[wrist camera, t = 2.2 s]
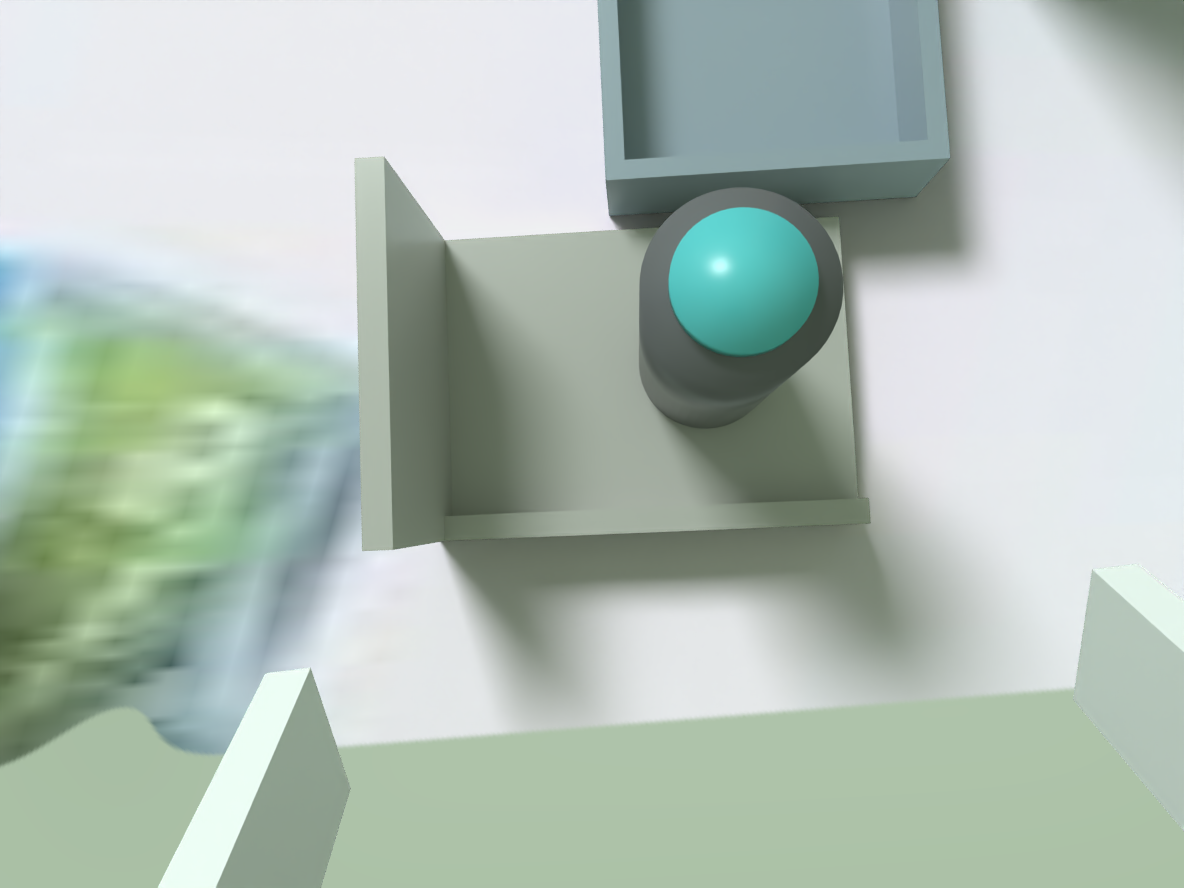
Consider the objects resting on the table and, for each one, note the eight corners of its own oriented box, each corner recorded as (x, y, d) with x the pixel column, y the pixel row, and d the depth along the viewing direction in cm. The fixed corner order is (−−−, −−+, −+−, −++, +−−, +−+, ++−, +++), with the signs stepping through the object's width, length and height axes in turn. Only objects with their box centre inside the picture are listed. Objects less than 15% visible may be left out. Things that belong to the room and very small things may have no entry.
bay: (438, 538, 36) (362, 551, 26) (431, 252, 37) (354, 158, 27) (850, 522, 35) (935, 527, 25) (830, 228, 36) (904, 121, 26)
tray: (609, 215, 37) (605, 180, 33) (594, -109, 38) (589, -182, 34) (915, 196, 36) (950, 158, 32) (890, -134, 37) (920, -211, 33)
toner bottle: (642, 431, 34) (644, 387, 22) (635, 301, 35) (634, 185, 22) (775, 425, 34) (856, 377, 21) (767, 294, 34) (841, 171, 22)
